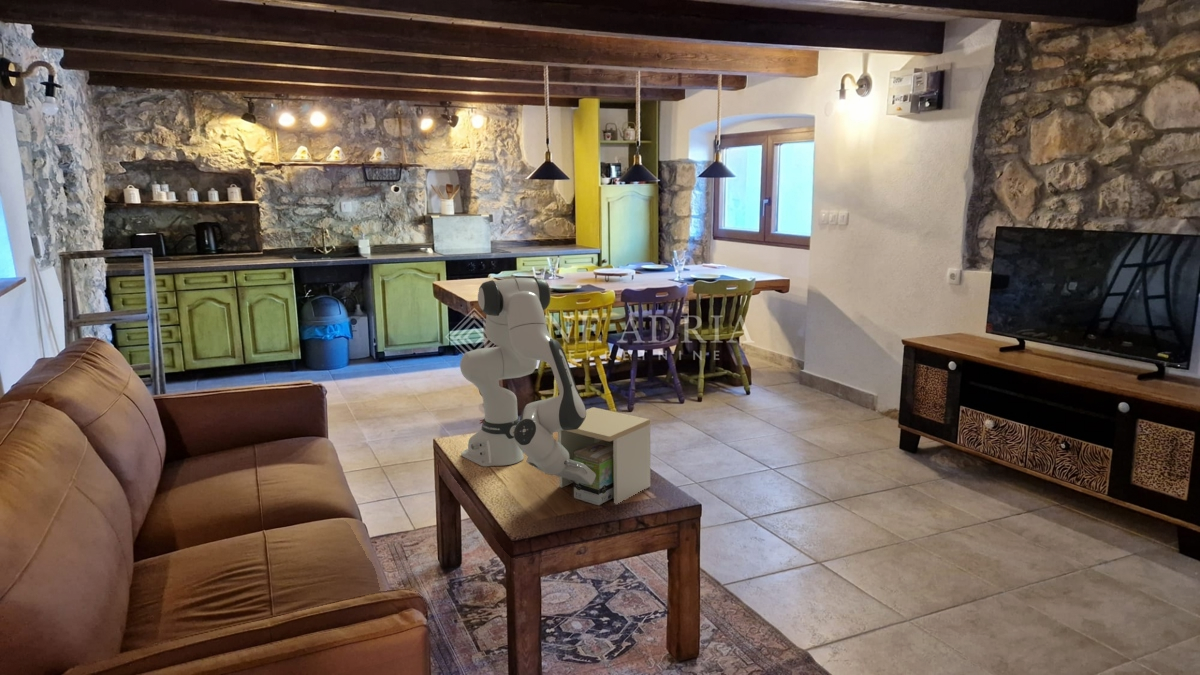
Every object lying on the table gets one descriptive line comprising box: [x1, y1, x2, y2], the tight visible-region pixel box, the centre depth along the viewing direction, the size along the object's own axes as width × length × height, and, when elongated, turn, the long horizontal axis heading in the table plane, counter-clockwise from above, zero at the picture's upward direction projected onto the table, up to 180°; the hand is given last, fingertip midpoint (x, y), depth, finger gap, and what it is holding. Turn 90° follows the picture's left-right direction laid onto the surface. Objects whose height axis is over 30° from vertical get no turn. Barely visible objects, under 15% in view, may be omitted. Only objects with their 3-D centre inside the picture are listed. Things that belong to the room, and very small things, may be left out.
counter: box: [557, 406, 651, 505], centre depth 231 cm, size 22×20×22 cm
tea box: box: [573, 440, 614, 506], centre depth 227 cm, size 15×10×15 cm, turn 142°
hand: (576, 480), depth 223 cm, fingers closed
